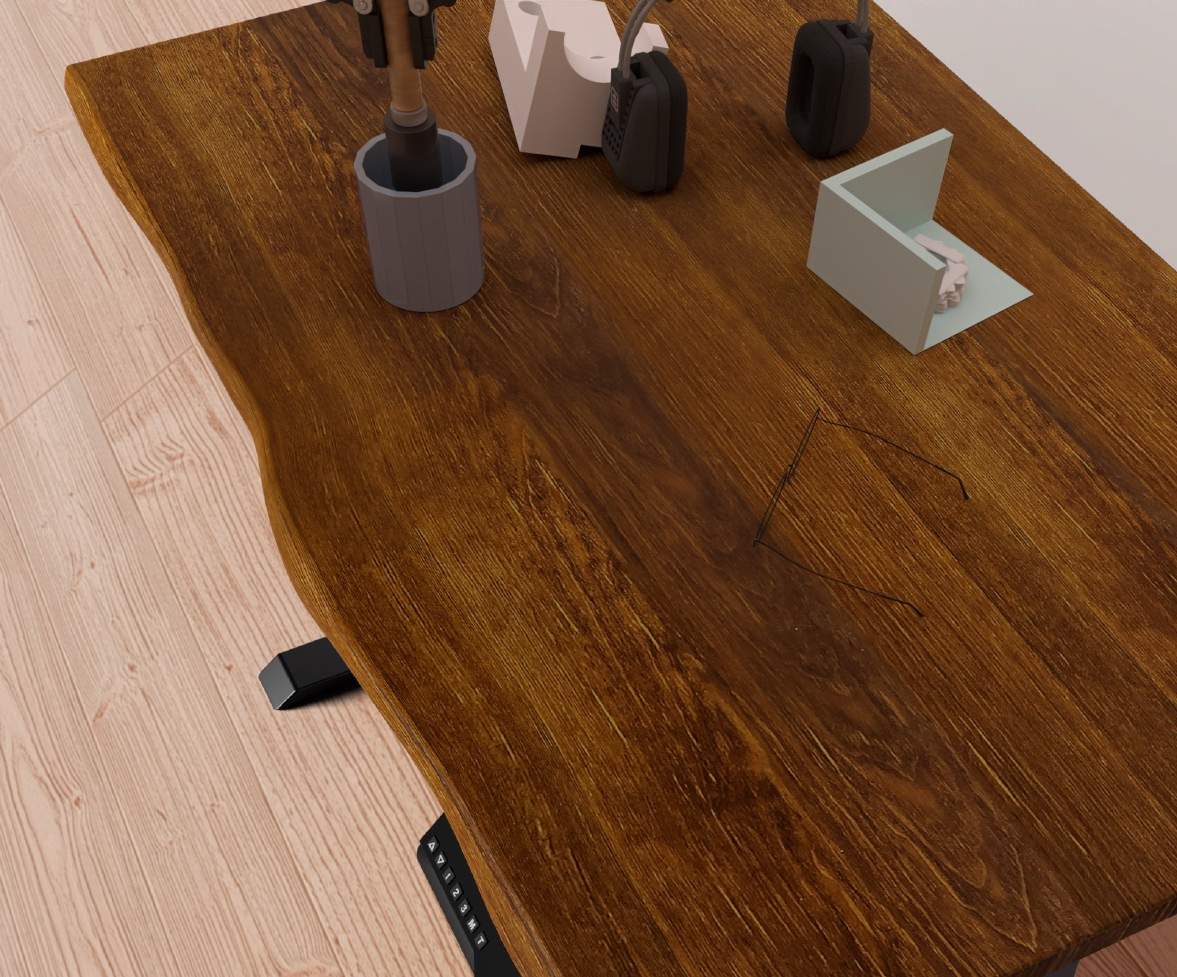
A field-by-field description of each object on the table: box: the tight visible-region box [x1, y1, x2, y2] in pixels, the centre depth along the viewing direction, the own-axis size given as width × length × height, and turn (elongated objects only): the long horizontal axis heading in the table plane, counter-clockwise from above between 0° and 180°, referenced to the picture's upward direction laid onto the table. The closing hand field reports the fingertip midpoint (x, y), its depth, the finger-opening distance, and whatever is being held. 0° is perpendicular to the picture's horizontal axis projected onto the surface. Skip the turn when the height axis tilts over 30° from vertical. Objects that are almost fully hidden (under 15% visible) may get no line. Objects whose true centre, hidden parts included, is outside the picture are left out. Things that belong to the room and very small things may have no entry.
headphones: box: [601, 0, 875, 193], centre depth 98 cm, size 22×6×20 cm, turn 109°
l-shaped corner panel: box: [806, 127, 1034, 356], centre depth 93 cm, size 12×12×8 cm
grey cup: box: [353, 127, 486, 313], centre depth 92 cm, size 8×8×10 cm
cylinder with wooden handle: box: [379, 0, 443, 192], centre depth 84 cm, size 4×4×14 cm
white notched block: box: [487, 0, 670, 159], centre depth 107 cm, size 18×10×10 cm, turn 11°
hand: (402, 61), depth 82 cm, fingers closed on cylinder with wooden handle, 2 cm apart
